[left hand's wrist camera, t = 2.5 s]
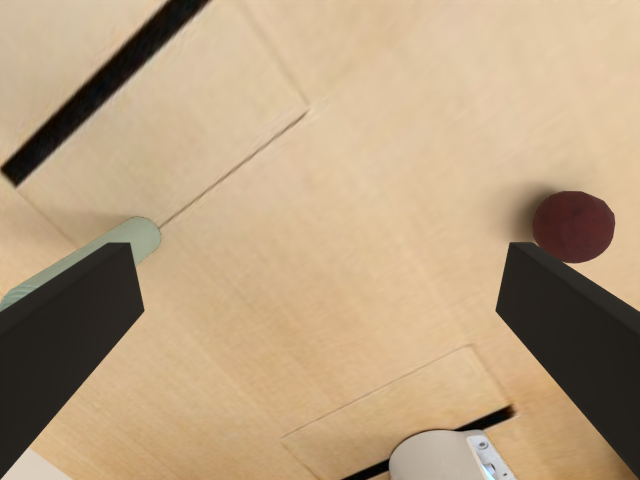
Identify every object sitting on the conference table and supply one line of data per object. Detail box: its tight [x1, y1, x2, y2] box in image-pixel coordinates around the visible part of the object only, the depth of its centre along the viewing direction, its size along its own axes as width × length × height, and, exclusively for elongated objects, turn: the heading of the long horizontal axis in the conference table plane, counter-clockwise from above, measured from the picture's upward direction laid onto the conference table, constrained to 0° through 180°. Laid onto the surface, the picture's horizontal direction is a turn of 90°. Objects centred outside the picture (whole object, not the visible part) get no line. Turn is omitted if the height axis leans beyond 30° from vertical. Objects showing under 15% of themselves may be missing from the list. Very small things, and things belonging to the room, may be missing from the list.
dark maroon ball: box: [533, 191, 615, 263], centre depth 37 cm, size 7×8×7 cm
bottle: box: [0, 217, 161, 312], centre depth 32 cm, size 4×4×21 cm
